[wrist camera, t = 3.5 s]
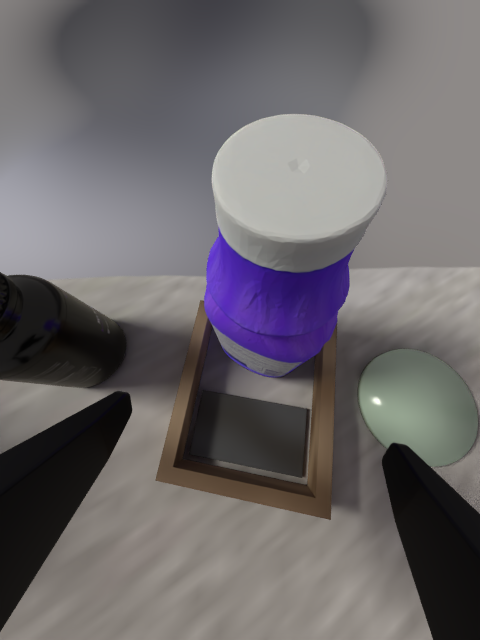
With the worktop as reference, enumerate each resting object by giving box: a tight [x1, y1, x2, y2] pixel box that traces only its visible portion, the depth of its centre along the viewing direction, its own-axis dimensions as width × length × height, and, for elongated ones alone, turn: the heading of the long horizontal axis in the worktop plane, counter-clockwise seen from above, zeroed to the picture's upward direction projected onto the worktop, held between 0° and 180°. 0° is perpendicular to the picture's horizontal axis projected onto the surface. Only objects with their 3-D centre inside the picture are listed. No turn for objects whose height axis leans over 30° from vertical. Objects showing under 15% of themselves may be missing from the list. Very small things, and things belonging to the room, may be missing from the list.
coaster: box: [358, 349, 478, 467], centre depth 19 cm, size 9×9×1 cm
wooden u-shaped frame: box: [156, 300, 337, 520], centre depth 19 cm, size 14×12×2 cm
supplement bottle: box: [0, 272, 126, 388], centre depth 16 cm, size 7×7×12 cm
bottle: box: [204, 114, 387, 377], centre depth 13 cm, size 7×6×17 cm
